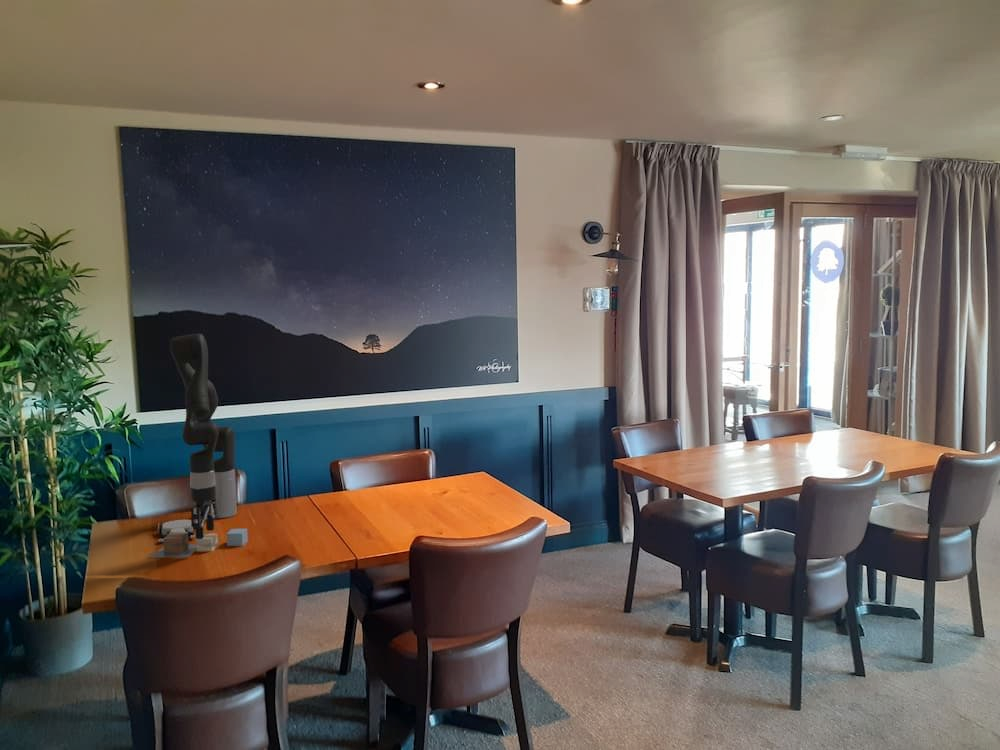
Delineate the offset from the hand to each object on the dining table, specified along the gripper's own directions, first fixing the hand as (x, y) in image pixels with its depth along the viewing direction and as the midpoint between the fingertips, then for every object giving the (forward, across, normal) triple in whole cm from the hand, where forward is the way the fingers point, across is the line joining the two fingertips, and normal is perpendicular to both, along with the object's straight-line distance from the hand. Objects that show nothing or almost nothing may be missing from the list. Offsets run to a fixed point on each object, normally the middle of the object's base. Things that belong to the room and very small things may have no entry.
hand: (205, 534), depth 239 cm
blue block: (+6, -6, +8) cm, 11 cm away
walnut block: (+5, +2, -9) cm, 10 cm away
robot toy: (+6, -13, -15) cm, 21 cm away
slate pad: (+6, +2, -9) cm, 11 cm away
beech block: (+6, 0, 0) cm, 6 cm away
